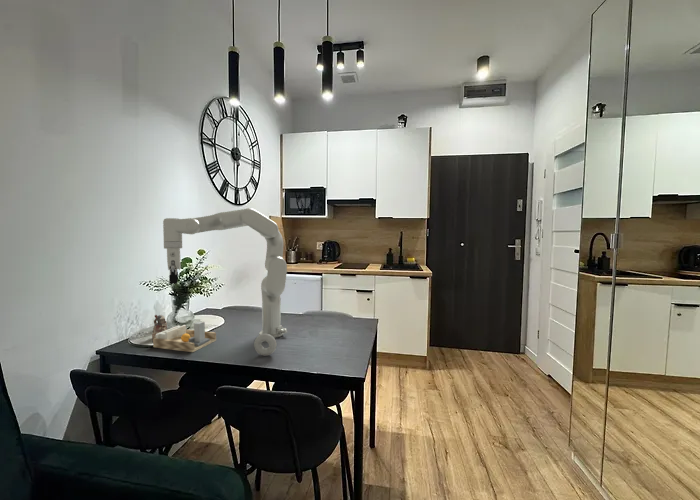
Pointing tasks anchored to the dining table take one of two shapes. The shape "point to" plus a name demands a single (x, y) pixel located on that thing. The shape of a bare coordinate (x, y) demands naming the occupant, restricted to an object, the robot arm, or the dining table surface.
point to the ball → (185, 337)
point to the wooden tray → (183, 346)
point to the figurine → (159, 325)
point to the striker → (199, 334)
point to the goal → (172, 332)
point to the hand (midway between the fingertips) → (173, 281)
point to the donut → (271, 342)
